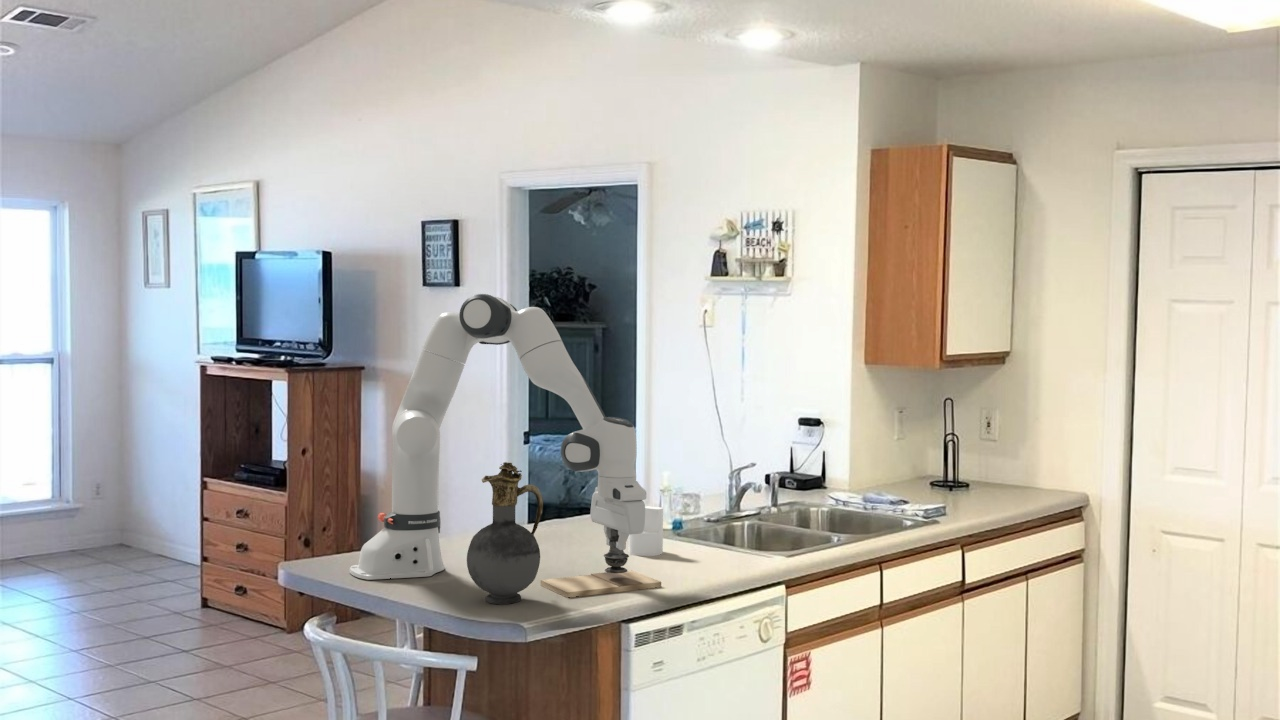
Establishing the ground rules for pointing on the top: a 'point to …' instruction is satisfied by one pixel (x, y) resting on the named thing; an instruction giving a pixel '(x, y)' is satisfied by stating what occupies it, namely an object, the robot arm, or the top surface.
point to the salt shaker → (615, 555)
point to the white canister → (649, 534)
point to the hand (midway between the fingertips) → (616, 547)
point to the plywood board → (599, 583)
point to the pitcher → (505, 542)
